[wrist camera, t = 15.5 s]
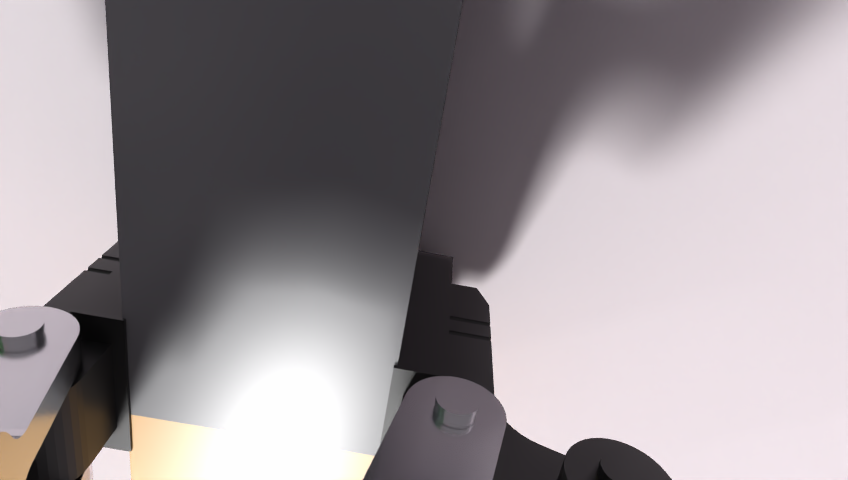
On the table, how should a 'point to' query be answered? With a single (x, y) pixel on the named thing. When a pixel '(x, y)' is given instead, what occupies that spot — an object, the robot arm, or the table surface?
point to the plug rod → (270, 223)
